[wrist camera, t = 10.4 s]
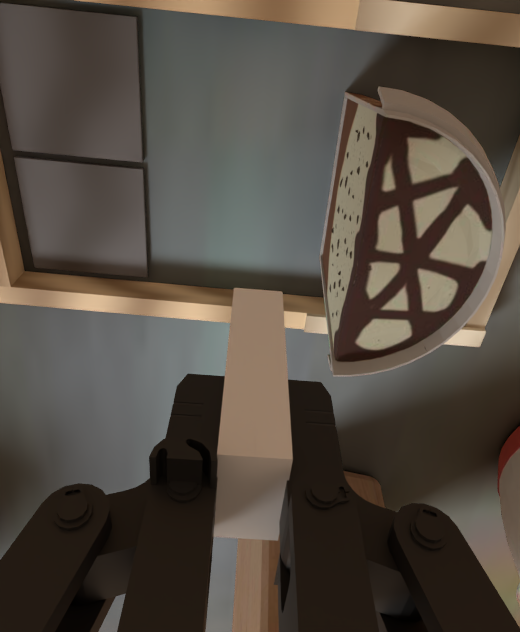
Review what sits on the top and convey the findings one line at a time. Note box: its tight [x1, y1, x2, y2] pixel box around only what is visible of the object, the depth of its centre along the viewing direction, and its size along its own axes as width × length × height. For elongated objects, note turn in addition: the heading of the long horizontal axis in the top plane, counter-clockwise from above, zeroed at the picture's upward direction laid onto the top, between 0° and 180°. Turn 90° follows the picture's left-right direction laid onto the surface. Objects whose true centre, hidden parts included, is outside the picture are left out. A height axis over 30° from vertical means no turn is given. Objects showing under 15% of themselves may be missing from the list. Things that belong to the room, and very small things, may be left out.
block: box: [232, 471, 385, 632], centre depth 35 cm, size 10×10×20 cm
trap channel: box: [0, 0, 520, 347], centre depth 27 cm, size 30×17×2 cm, turn 85°
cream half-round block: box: [319, 86, 506, 376], centre depth 24 cm, size 12×6×10 cm, turn 176°
